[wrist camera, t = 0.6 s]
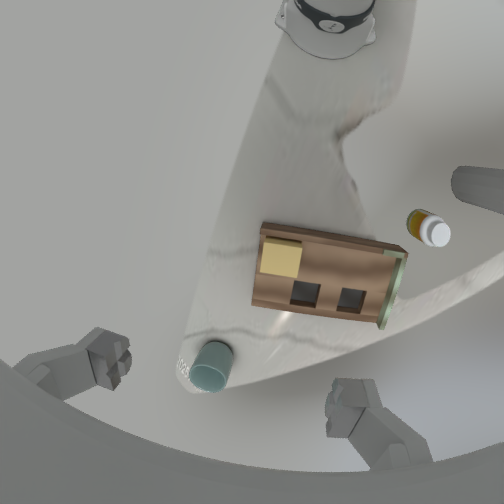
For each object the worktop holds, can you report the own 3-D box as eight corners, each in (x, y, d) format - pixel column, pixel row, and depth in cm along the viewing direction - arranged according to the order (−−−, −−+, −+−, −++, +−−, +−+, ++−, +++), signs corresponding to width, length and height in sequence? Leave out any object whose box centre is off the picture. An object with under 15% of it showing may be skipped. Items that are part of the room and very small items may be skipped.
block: (266, 234, 48) (263, 242, 43) (301, 239, 47) (302, 248, 43) (262, 261, 50) (259, 272, 45) (296, 267, 49) (296, 278, 44)
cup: (207, 331, 59) (193, 359, 49) (240, 344, 59) (231, 374, 49) (198, 355, 61) (184, 383, 52) (229, 368, 61) (220, 397, 52)
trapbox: (263, 222, 50) (260, 228, 45) (398, 245, 48) (409, 254, 42) (253, 299, 55) (248, 313, 50) (377, 317, 52) (384, 331, 47)
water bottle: (446, 200, 43) (533, 230, 20) (450, 160, 41) (539, 167, 17) (478, 206, 42) (561, 238, 19) (482, 169, 40) (568, 183, 16)
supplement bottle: (406, 238, 47) (428, 254, 38) (404, 210, 46) (426, 221, 36) (430, 234, 46) (454, 248, 37) (428, 206, 44) (453, 216, 35)
